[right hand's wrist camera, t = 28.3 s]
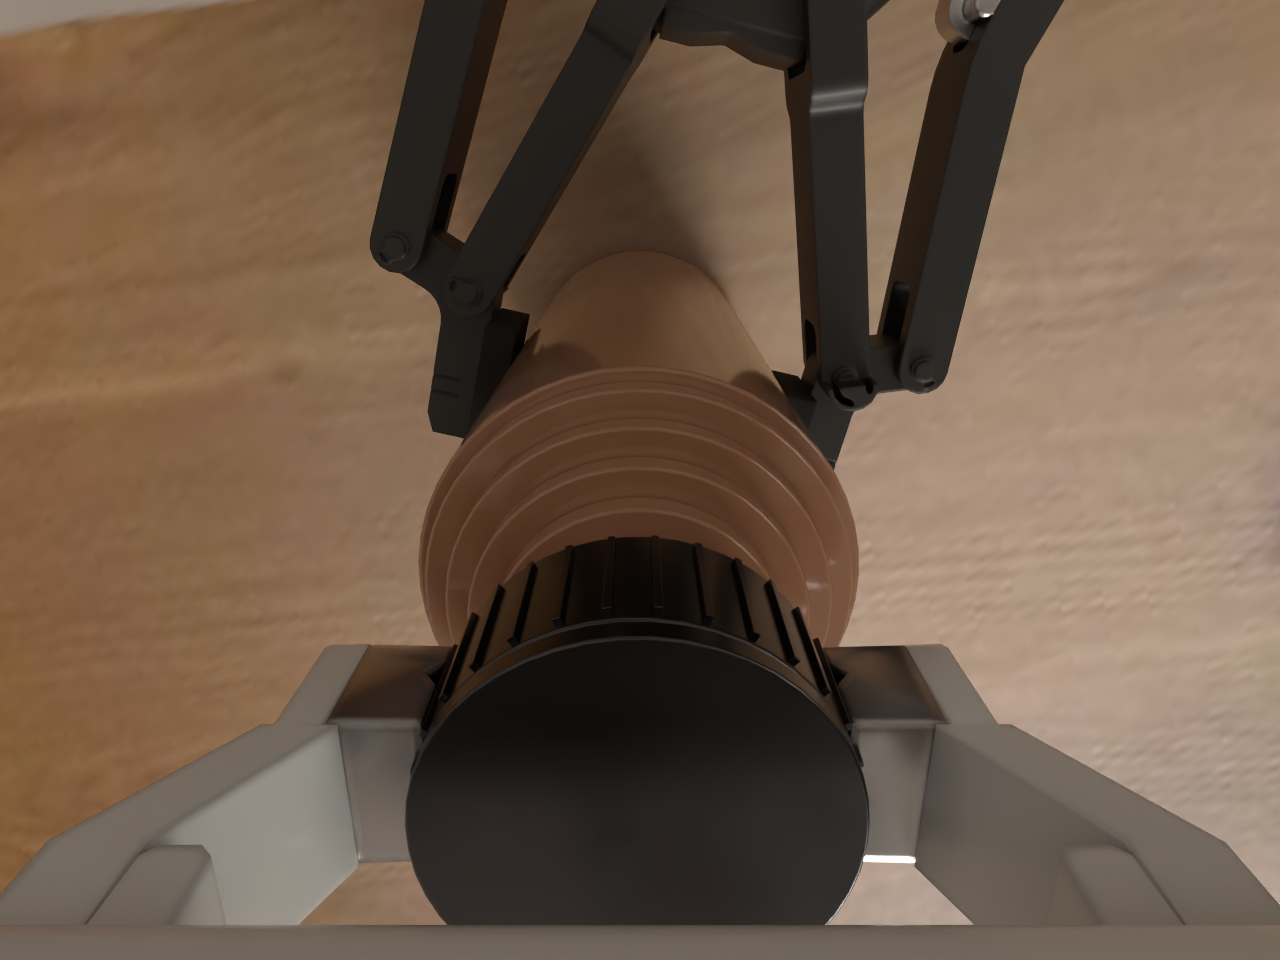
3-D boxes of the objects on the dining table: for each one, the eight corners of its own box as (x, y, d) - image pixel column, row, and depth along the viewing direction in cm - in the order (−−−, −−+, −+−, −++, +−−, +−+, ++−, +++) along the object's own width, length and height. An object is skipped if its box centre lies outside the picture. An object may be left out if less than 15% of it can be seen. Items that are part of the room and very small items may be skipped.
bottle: (635, 204, 26) (619, 324, 7) (783, 350, 28) (1101, 773, 9) (497, 359, 28) (181, 795, 9) (644, 488, 30) (650, 1094, 10)
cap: (769, 477, 9) (805, 565, 7) (868, 798, 11) (922, 946, 9) (382, 600, 10) (313, 716, 8) (531, 888, 11) (508, 1049, 9)
